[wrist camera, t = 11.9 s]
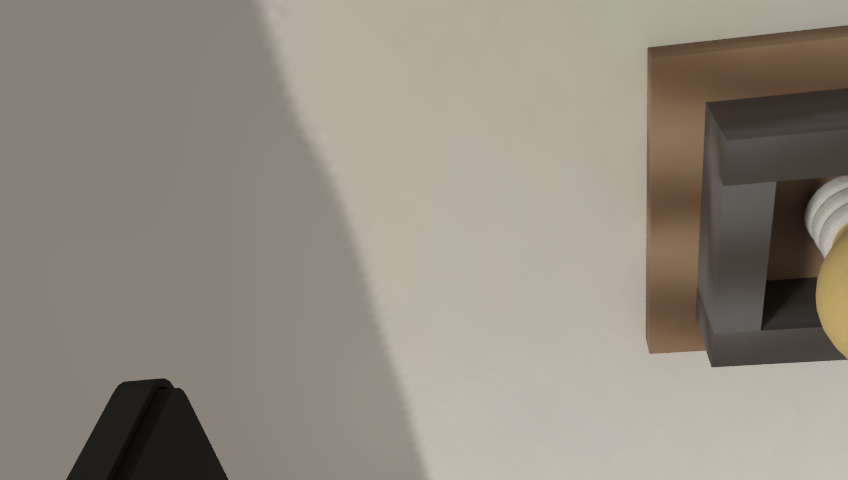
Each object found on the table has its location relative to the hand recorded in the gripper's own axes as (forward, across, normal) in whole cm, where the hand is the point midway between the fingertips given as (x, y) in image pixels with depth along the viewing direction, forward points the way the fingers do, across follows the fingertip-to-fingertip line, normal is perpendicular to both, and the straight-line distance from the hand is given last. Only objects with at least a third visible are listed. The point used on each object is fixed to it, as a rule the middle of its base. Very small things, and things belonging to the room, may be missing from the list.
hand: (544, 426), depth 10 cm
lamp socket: (+26, -12, +14) cm, 32 cm away
